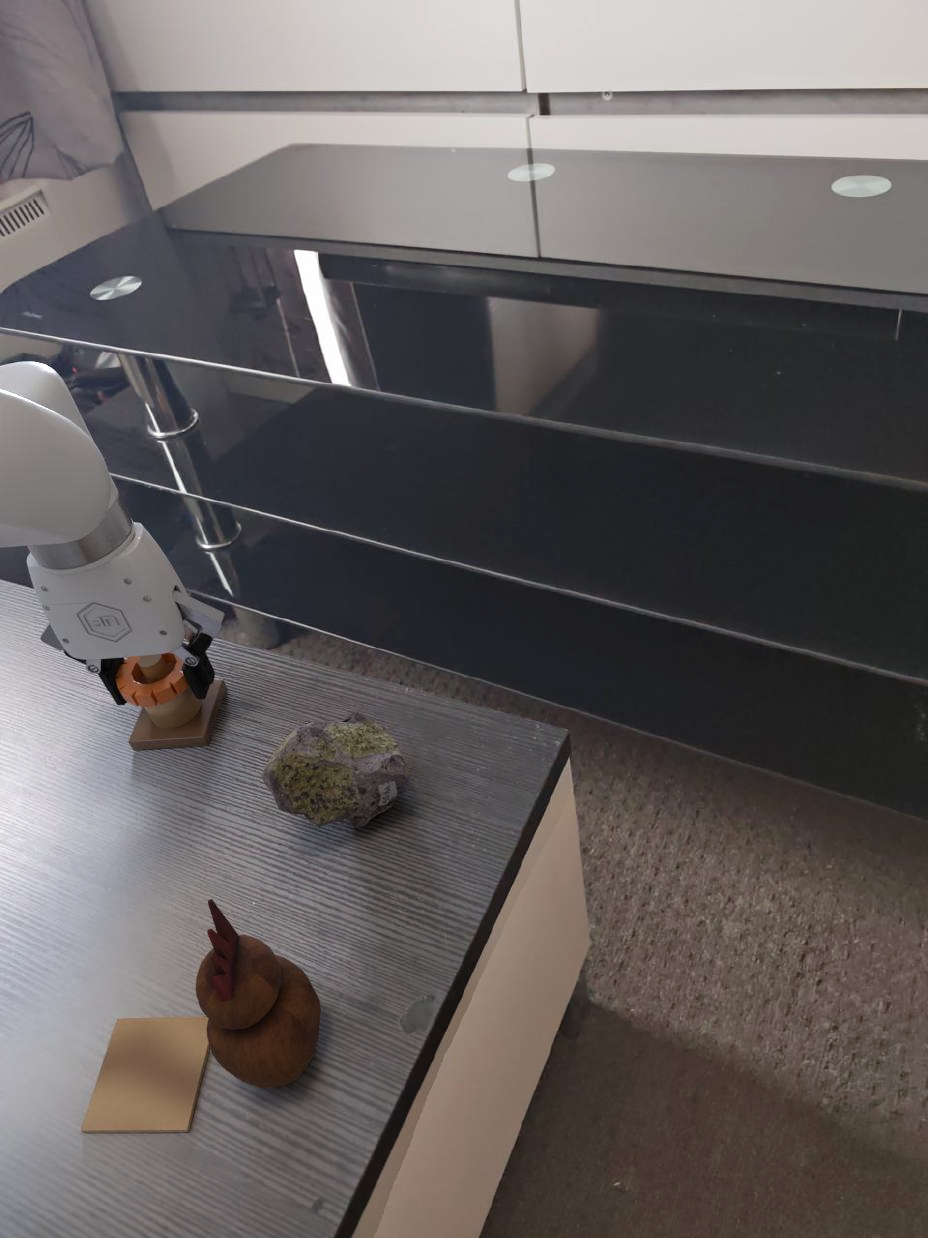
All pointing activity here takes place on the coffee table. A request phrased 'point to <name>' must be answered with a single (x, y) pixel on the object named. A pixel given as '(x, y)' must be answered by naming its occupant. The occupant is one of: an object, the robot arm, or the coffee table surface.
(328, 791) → the rock
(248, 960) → the wooden figurine
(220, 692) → the post
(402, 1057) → the coffee table surface
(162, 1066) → the coaster
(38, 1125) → the coffee table surface
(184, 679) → the ring
